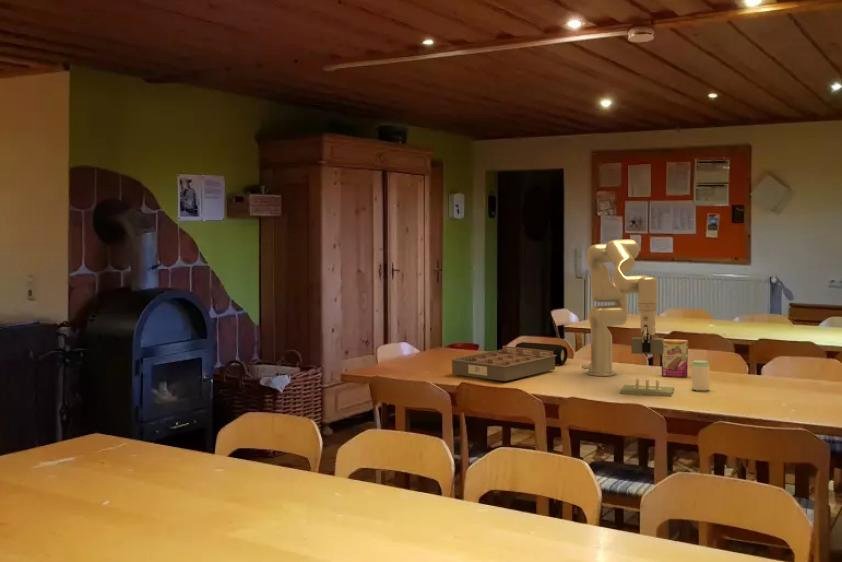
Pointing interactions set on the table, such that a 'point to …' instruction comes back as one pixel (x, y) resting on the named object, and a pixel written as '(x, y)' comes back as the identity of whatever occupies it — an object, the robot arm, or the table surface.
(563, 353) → the portable speaker
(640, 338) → the plug housing
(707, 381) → the can
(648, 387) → the pin board
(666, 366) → the candy bar box
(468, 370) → the organizer tray
